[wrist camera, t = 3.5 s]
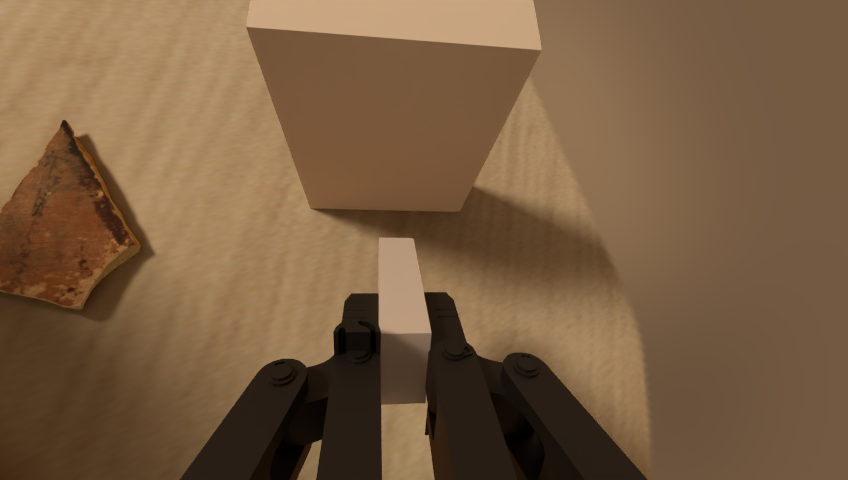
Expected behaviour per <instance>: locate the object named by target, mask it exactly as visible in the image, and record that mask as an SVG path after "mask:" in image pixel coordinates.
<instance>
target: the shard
mask: <svg viewBox="0 0 848 480" xmlns="http://www.w3.org/2000/svg"><path fill="white" fill-rule="evenodd" d="M140 250H141V244H140V243H139V242H138V240H137V239H136V238H135V236H134V235H133V233H132V232H131V231H130V229H129V228H128V227H127V225H126V223H125V221H124V219H123V216H122V213H121V212H120V211H119V209H118V208H117V206H116V205H115V204H114V203H113V202H112V200H111V197H110V195H109V192H108V190H107V187H106V184H105V183H104V181H103V179H102V178H101V175H100V173H99V171H98V170H97V168H96V165H95V163H94V160H93V159H92V158H91V156H90V155H89V153H88V151H86V150H85V149H84V148H83V146H82V143H81V142H80V141H79V140H78V139H76V138H75V137H74V132H73V130H72V128H71V126H70V125H69V124H68V122H67V121H66V120H63V121H62V124H61V126H60V128H59V130H58V132H57V133H56V134H55V135H54V136H53V138H52V140H51V141H50V142H49V144H48V145H47V147H46V149H45V152H44V154H43V156H42V157H41V158H40V159H39V161H38V162H37V163H36V165H35V166H34V167H33V169H32V170H31V171H30V172H29V173H28V175H27V176H26V177H25V178H24V179H23V180H22V182H21V183H20V184H19V186H18V187H17V189H16V190H15V192H14V194H13V195H12V197H11V199H10V200H9V201H8V202H7V203H6V204H5V205H4V207H3V208H2V210H1V212H0V291H1V292H4V293H10V294H15V295H20V296H25V297H32V298H36V299H39V300H42V301H47V302H50V303H52V304H56V305H59V306H61V307H63V308H72V309H74V310H75V309H79V310H81V309H83V306H84V303H85V302H86V300H87V298H88V297H89V294H90V292H91V291H92V290H93V288H94V287H95V286H96V285H97V284H98V283H99V282H100V281H101V280H102V279H103V278H104V277H105V276H107V275H108V274H109V273H110V272H111V271H112V270H113V269H115V268H116V267H118V266H119V265H121V264H122V263H124V262H125V261H127V260H128V259H129V258H131V257H132V256H134V255H135V254H137V253H138V252H139V251H140Z"/></svg>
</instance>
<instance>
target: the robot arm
mask: <svg viewBox="0 0 848 480" xmlns="http://www.w3.org/2000/svg"><path fill="white" fill-rule="evenodd" d="M426 395H427V402H428V408H427V419H426V429H425V435H429V439H430V447H431V455H432V463H433V470H434V478H435V480H647V479H646V477H645V476H644V475H643V474H642V473H641V472H640V471H639V470H638V468H637V467H636V466H635V465H634V464H633V463H632V462H631V460H630V459H629V458H628V457H627V456H626V455H625V454H624V453H623V451H622V450H621V449H620V448H619V447H618V446H617V445H616V443H615V442H614V441H613V440H612V439H611V438H610V437H609V435H608V434H607V433H606V432H605V431H604V430H603V429H602V428H601V426H600V425H599V424H598V423H597V422H596V421H595V420H594V418H593V417H592V416H591V415H590V414H589V413H588V412H587V411H586V409H585V408H584V407H583V406H582V405H581V404H580V403H579V401H578V400H577V399H576V398H575V397H574V396H573V395H572V393H571V392H570V391H569V390H568V389H567V388H566V387H565V386H564V384H563V383H562V382H561V381H560V380H559V379H558V378H557V376H556V375H555V374H554V373H553V372H552V371H551V370H550V368H549V367H548V366H547V365H546V364H545V363H544V362H543V361H541V360H540V359H539V358H537V357H535V356H533V355H531V354H527V353H513V354H510V355H508V356H507V357H506V358H505V359H504V361H503V363H502V362H497V361H492V360H488V359H485V358H482V357H480V356H478V355H477V354H476V352H475V350H474V348H473V347H472V346H471V345H469V344H468V343H467V342H466V339H465V336H464V332H463V329H462V326H461V323H460V319H459V318H458V313H457V310H456V307H455V303H454V300H453V299H452V298H451V297H450V296H449V295H448V294H447V293H446V292H424V291H423V286H422V281H421V276H420V270H419V265H418V260H417V255H416V250H415V244H414V239H413V238H379V263H378V293H372V294H351V295H350V296H349V297H348V298H347V299H346V301H345V303H344V311H343V318H342V323H340V324H339V325H338V326H337V327H336V328H335V330H334V356H332V357H331V358H330V359H329V360H327V361H325V362H324V363H321V364H318V365H315V366H311V367H307V368H306V366H305V365H304V364H303V363H302V362H300V361H298V360H295V359H280V360H276V361H273V362H271V363H269V364H267V365H265V366H264V367H263V368H262V369H261V370H260V371H259V372H258V373H257V374H256V376H255V377H254V379H253V380H252V381H251V383H250V384H249V385H248V387H247V388H246V390H245V391H244V392H243V394H242V395H241V396H240V398H239V399H238V401H237V402H236V403H235V405H234V406H233V407H232V409H231V410H230V412H229V413H228V414H227V416H226V417H225V418H224V420H223V421H222V423H221V424H220V425H219V427H218V428H217V429H216V431H215V432H214V434H213V435H212V436H211V438H210V439H209V440H208V442H207V443H206V445H205V446H204V447H203V449H202V450H201V451H200V453H199V454H198V456H197V457H196V458H195V460H194V461H193V462H192V464H191V465H190V467H189V468H188V469H187V471H186V472H185V473H184V475H183V476H182V478H181V479H180V480H297V478H298V475H299V473H300V471H301V469H302V466H303V464H304V462H305V460H306V457H307V455H308V453H309V451H310V449H311V445H312V443H313V442H316V441H319V440H322V444H321V451H320V458H319V465H318V472H317V478H316V480H382V452H381V405H382V404H410V403H425V400H426Z"/></svg>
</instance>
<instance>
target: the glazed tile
mask: <svg viewBox="0 0 848 480" xmlns="http://www.w3.org/2000/svg"><path fill="white" fill-rule="evenodd" d="M246 28H247V31H248V34H249V37H250V39H251V42H252V45H253V48H254V51H255V53H256V56H257V59H258V62H259V65H260V68H261V70H262V73H263V76H264V79H265V82H266V84H267V87H268V90H269V93H270V96H271V99H272V101H273V104H274V107H275V110H276V113H277V115H278V118H279V121H280V124H281V127H282V130H283V132H284V135H285V138H286V141H287V144H288V146H289V149H290V152H291V155H292V158H293V161H294V163H295V166H296V169H297V172H298V175H299V177H300V180H301V183H302V186H303V189H304V192H305V194H306V197H307V200H308V203H309V206H310V208H311V209H354V210H397V211H440V212H460V210H461V208H462V206H463V204H464V202H465V200H466V198H467V196H468V194H469V192H470V190H471V188H472V187H473V185H474V183H475V181H476V179H477V177H478V175H479V173H480V171H481V169H482V167H483V165H484V163H485V161H486V159H487V157H488V155H489V153H490V151H491V149H492V147H493V145H494V143H495V141H496V139H497V137H498V135H499V133H500V131H501V129H502V127H503V126H504V124H505V122H506V120H507V118H508V116H509V114H510V112H511V110H512V108H513V106H514V104H515V102H516V100H517V98H518V96H519V94H520V92H521V90H522V88H523V86H524V84H525V82H526V80H527V78H528V76H529V74H530V72H531V70H532V68H533V66H534V65H535V63H536V61H537V59H538V57H539V55H540V53H541V50H542V48H541V43H540V37H539V31H538V26H537V20H536V14H535V8H534V2H533V0H250V6H249V12H248V18H247V24H246Z"/></svg>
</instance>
